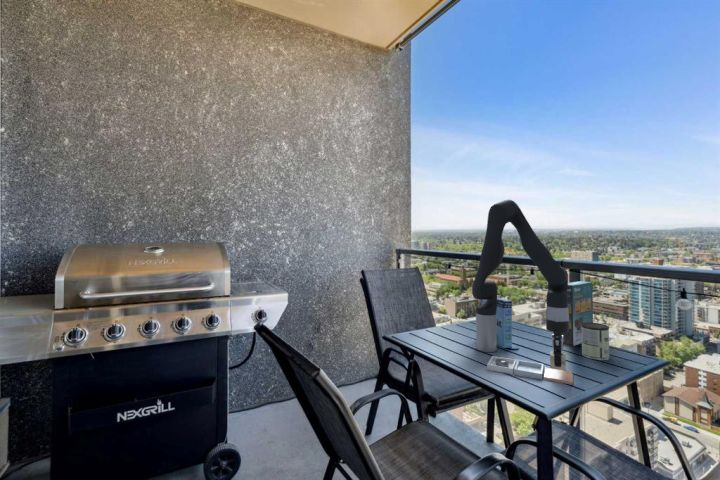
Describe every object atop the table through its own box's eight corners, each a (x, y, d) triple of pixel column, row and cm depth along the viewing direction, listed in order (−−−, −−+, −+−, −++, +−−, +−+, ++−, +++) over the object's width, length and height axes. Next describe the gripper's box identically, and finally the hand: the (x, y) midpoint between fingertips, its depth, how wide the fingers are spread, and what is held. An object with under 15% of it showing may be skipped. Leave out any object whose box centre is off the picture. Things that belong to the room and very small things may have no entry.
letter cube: (550, 364, 131) (550, 351, 131) (565, 366, 128) (565, 353, 128) (550, 368, 127) (550, 355, 127) (565, 370, 124) (565, 357, 124)
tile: (545, 370, 135) (545, 367, 135) (572, 374, 130) (572, 371, 130) (544, 379, 125) (544, 377, 125) (573, 384, 121) (573, 382, 121)
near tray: (492, 360, 146) (492, 355, 146) (516, 364, 141) (516, 359, 141) (487, 369, 135) (487, 364, 135) (513, 374, 130) (512, 368, 130)
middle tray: (517, 365, 140) (517, 359, 140) (543, 369, 135) (543, 363, 135) (514, 374, 130) (514, 369, 130) (542, 379, 125) (542, 373, 125)
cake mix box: (580, 336, 183) (580, 281, 183) (593, 338, 177) (592, 282, 178) (560, 343, 170) (559, 284, 171) (573, 346, 165) (572, 285, 166)
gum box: (481, 337, 182) (480, 295, 182) (489, 336, 183) (488, 294, 183) (503, 348, 163) (503, 301, 163) (513, 347, 164) (512, 300, 164)
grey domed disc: (496, 362, 141) (496, 358, 141) (509, 365, 139) (509, 360, 139) (494, 366, 137) (494, 361, 137) (507, 369, 135) (507, 364, 135)
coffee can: (583, 351, 158) (583, 321, 158) (611, 356, 151) (610, 324, 151) (579, 356, 150) (579, 325, 150) (607, 362, 143) (607, 329, 143)
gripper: (546, 313, 136) (547, 355, 136) (545, 321, 124) (545, 367, 123) (568, 315, 132) (569, 359, 132) (569, 323, 120) (569, 371, 119)
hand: (557, 362), depth 128 cm, fingers closed on letter cube, 5 cm apart
